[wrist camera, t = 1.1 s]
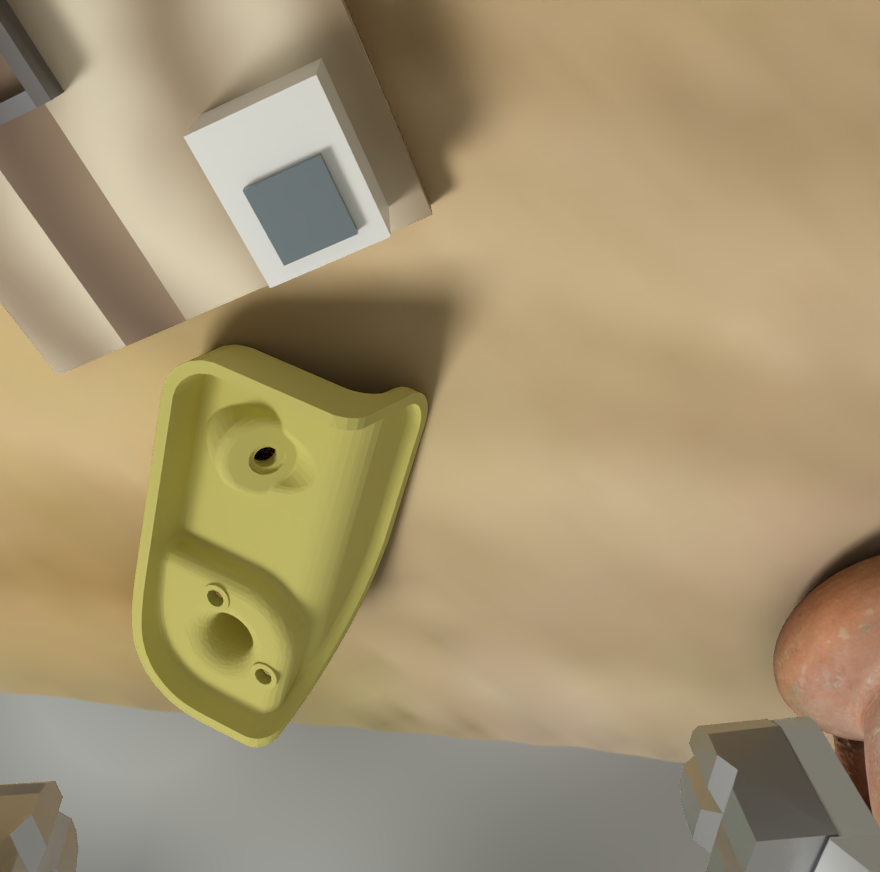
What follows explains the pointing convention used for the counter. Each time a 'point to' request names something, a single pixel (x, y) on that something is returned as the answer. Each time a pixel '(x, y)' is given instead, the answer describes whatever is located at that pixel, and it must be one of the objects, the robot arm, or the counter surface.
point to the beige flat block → (150, 156)
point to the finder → (291, 174)
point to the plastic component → (262, 532)
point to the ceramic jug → (839, 669)
